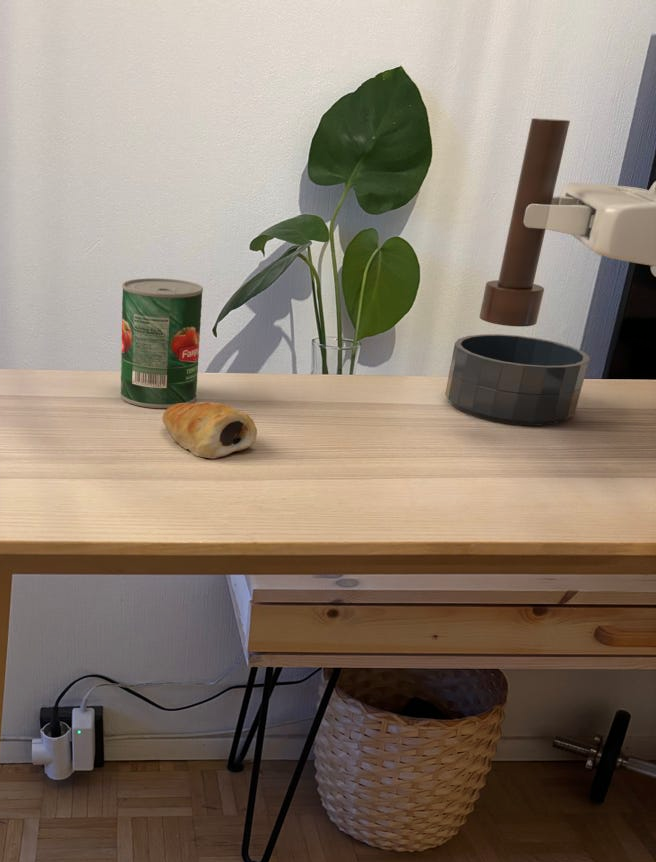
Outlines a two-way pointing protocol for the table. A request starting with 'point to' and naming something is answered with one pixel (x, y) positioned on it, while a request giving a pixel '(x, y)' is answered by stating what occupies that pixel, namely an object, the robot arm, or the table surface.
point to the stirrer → (526, 230)
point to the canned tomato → (160, 341)
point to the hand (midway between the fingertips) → (520, 211)
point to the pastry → (209, 428)
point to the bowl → (516, 378)
